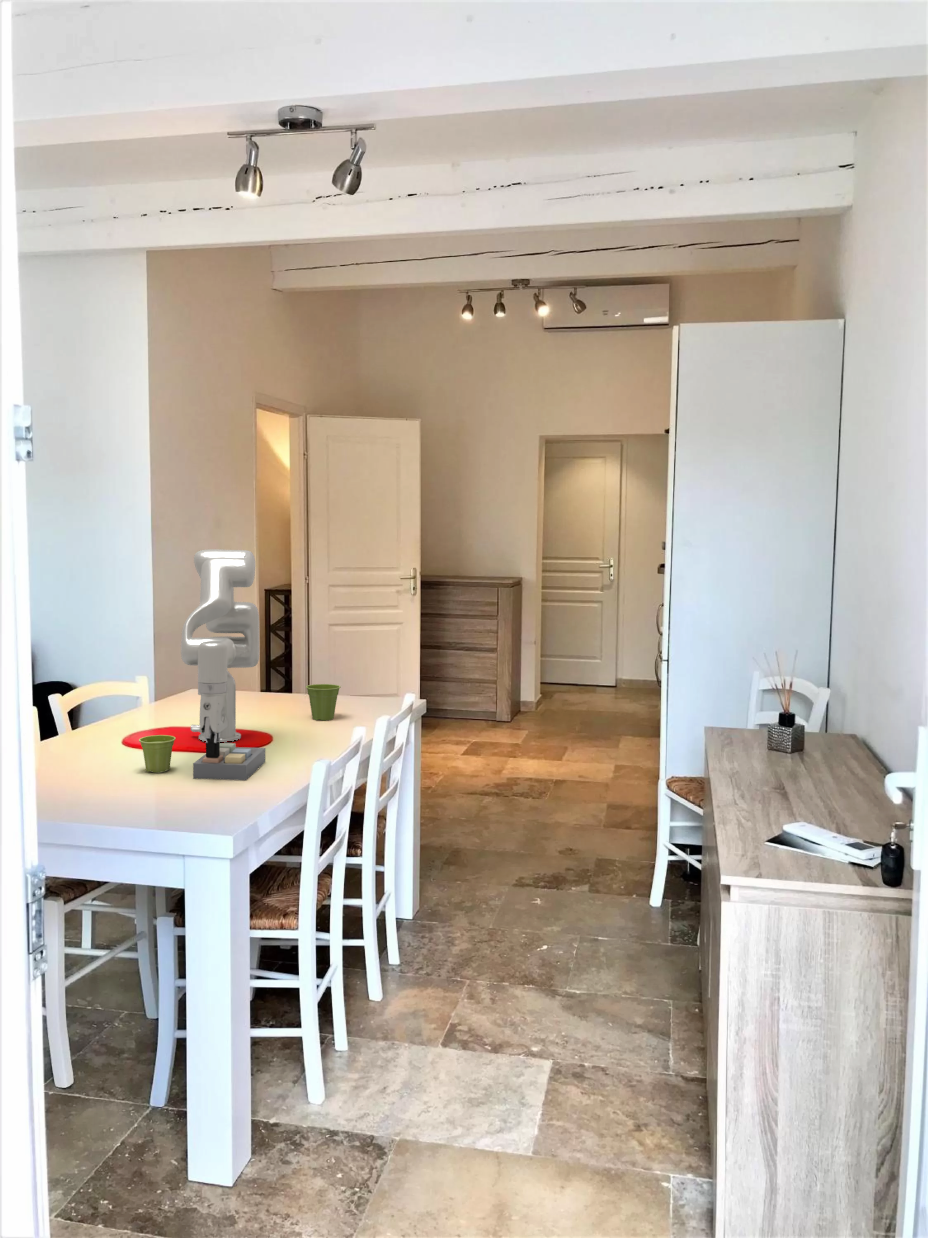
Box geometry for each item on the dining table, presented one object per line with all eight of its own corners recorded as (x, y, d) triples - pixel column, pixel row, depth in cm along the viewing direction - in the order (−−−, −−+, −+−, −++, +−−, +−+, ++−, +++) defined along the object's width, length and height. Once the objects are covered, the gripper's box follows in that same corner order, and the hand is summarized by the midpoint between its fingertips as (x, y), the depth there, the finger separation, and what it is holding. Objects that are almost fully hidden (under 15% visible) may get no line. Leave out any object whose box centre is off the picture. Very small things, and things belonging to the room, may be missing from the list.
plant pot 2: (347, 718, 349) (347, 686, 348) (325, 723, 339) (325, 690, 338) (321, 714, 355) (321, 682, 354) (298, 719, 345) (298, 686, 344)
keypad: (193, 778, 266) (193, 763, 265) (216, 760, 286) (216, 746, 285) (246, 780, 265) (246, 765, 265) (265, 762, 285) (265, 748, 284)
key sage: (216, 757, 279) (216, 746, 279) (220, 753, 283) (220, 742, 283) (231, 757, 279) (231, 746, 279) (235, 754, 283) (235, 743, 283)
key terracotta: (202, 769, 267) (202, 758, 267) (207, 765, 271) (207, 754, 271) (218, 770, 267) (218, 759, 267) (222, 766, 271) (222, 755, 271)
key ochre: (225, 768, 267) (225, 757, 267) (229, 764, 271) (229, 753, 271) (240, 769, 267) (240, 757, 266) (245, 765, 271) (245, 754, 271)
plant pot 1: (142, 776, 267) (142, 743, 266) (136, 768, 275) (136, 736, 274) (179, 772, 271) (178, 740, 270) (171, 764, 280) (171, 733, 279)
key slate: (231, 763, 273) (231, 752, 273) (235, 759, 277) (235, 748, 277) (247, 763, 273) (246, 752, 272) (251, 759, 277) (251, 749, 277)
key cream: (209, 762, 273) (209, 751, 273) (214, 758, 277) (214, 747, 277) (224, 762, 273) (224, 751, 273) (229, 759, 277) (229, 748, 277)
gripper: (218, 693, 259) (218, 764, 261) (234, 684, 274) (234, 751, 276) (189, 692, 260) (189, 763, 261) (207, 683, 275) (207, 750, 276)
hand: (212, 757), depth 269 cm, fingers closed
